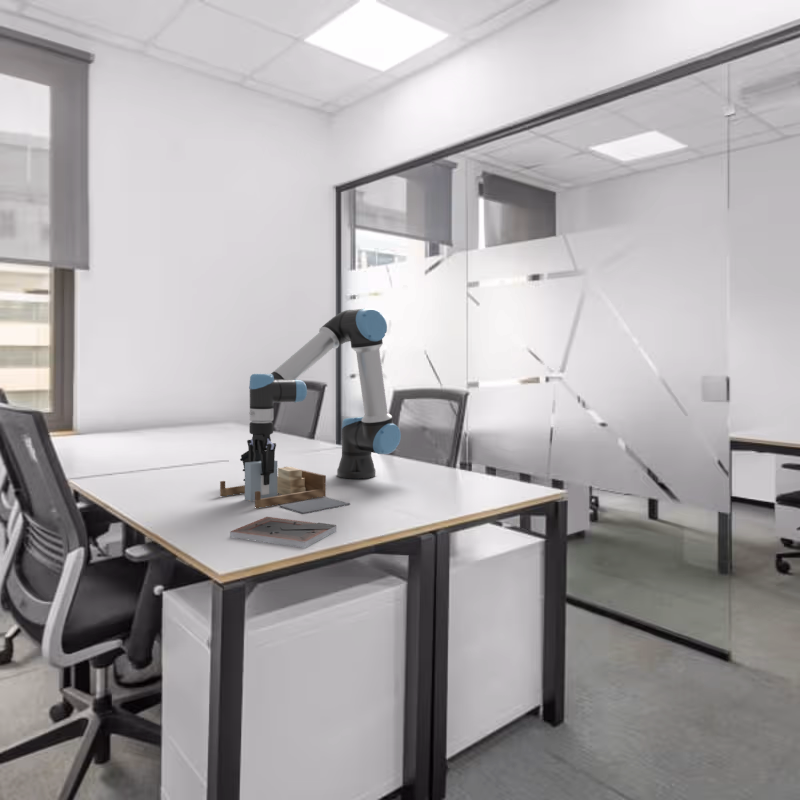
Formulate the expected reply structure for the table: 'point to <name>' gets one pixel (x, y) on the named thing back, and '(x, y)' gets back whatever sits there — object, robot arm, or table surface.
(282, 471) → the offcut top
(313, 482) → the rack
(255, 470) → the pale blue chunky brick
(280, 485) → the block
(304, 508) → the mat
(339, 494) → the table surface
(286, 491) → the block
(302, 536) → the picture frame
